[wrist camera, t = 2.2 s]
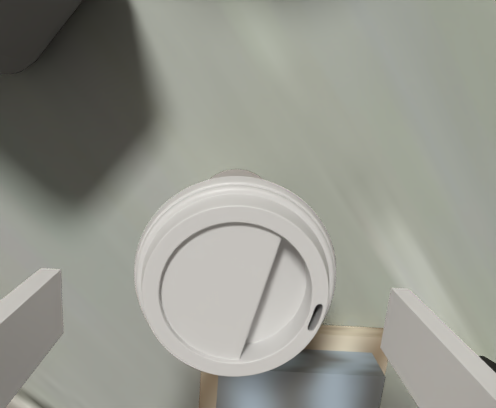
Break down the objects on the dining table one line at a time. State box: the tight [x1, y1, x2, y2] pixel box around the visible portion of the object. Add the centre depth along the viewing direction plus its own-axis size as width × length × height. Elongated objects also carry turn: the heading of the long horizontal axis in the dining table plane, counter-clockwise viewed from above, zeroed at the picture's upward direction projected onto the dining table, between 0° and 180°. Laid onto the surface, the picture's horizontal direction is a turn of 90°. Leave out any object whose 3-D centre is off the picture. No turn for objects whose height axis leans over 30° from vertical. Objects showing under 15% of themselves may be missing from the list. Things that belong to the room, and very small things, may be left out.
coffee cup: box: [134, 169, 336, 377], centre depth 23 cm, size 10×10×15 cm
